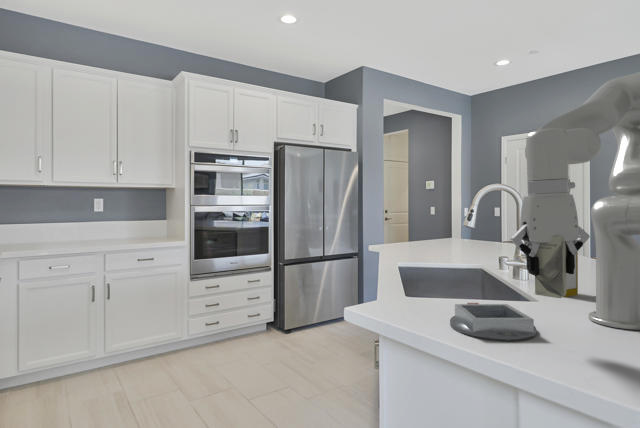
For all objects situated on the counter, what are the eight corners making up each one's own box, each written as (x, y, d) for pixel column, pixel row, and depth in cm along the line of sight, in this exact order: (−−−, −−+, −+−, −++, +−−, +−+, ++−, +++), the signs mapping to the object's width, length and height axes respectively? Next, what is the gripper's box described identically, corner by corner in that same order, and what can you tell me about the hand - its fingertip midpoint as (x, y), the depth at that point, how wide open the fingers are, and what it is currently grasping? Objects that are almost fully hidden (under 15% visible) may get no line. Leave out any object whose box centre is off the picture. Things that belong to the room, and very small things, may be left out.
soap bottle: (531, 294, 126) (531, 223, 125) (556, 290, 131) (555, 222, 130) (552, 299, 119) (552, 224, 119) (577, 294, 124) (577, 222, 124)
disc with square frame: (507, 312, 105) (507, 298, 105) (553, 341, 82) (553, 323, 82) (437, 312, 106) (437, 298, 106) (464, 341, 83) (464, 323, 83)
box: (534, 295, 81) (532, 235, 80) (540, 291, 84) (538, 233, 83) (563, 299, 77) (561, 236, 77) (568, 294, 80) (566, 233, 80)
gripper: (579, 187, 83) (581, 268, 84) (498, 191, 84) (501, 272, 84) (603, 186, 75) (605, 275, 76) (514, 190, 76) (517, 279, 77)
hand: (550, 272), depth 80 cm, fingers closed on box, 6 cm apart
